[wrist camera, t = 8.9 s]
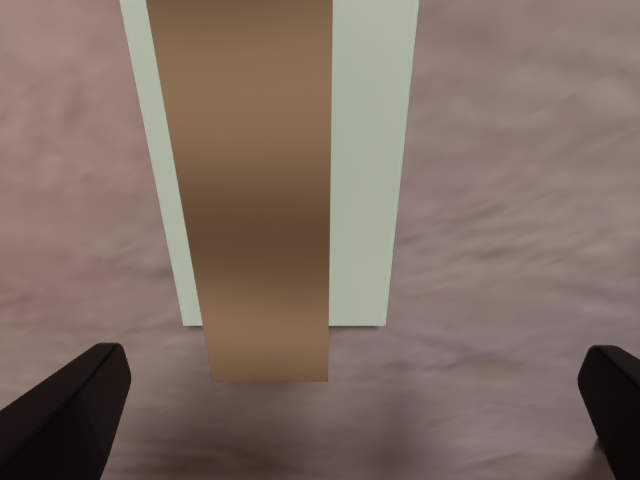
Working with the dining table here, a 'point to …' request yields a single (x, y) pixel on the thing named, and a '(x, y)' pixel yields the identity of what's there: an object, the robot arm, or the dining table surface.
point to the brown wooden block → (253, 175)
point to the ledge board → (346, 152)
